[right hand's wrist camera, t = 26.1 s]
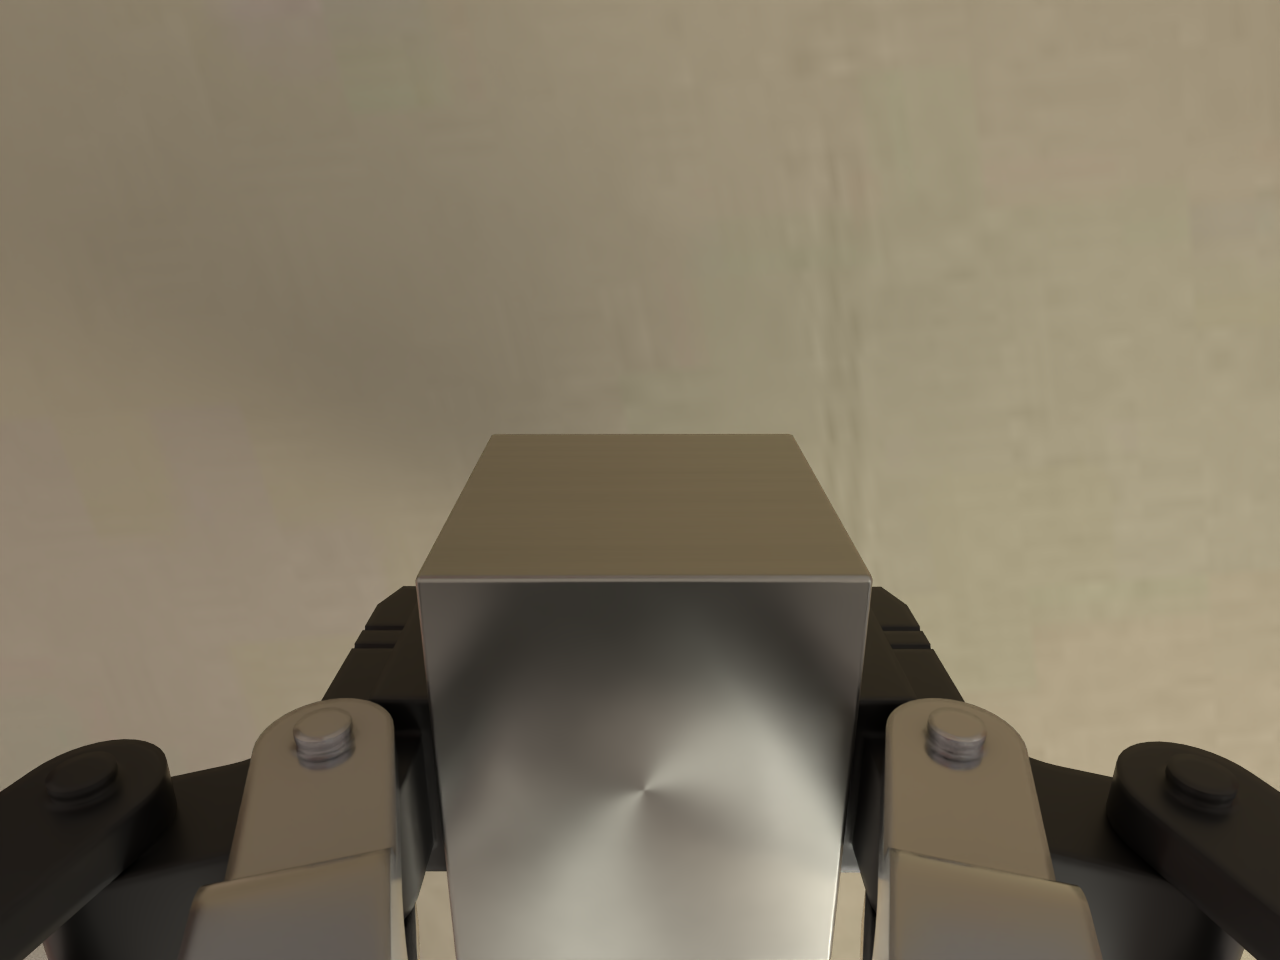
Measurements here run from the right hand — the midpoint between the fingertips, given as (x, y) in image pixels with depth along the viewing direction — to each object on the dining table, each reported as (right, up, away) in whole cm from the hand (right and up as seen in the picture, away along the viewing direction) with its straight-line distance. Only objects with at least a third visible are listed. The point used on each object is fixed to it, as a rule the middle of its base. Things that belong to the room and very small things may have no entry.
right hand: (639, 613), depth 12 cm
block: (0, 0, 0) cm, 1 cm away
